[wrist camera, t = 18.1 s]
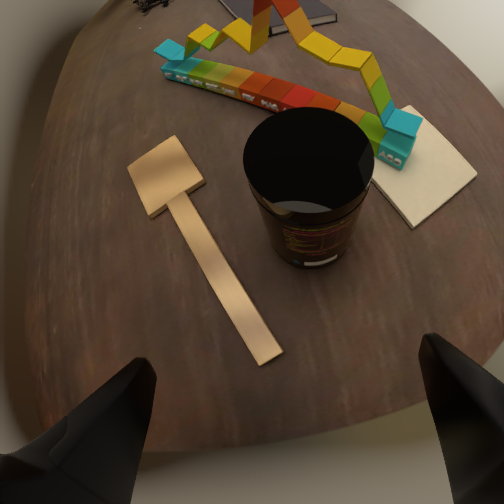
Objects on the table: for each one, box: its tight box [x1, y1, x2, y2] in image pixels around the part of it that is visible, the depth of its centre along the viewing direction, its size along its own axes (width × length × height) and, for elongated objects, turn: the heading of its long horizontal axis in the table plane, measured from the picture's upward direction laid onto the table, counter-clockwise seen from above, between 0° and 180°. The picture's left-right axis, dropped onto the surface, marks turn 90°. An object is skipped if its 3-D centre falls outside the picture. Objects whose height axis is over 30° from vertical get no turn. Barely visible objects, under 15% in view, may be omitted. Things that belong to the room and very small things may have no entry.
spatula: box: [127, 135, 284, 366], centre depth 26 cm, size 23×6×1 cm, turn 31°
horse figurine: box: [133, 0, 169, 29], centre depth 43 cm, size 9×4×15 cm
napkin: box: [371, 105, 477, 229], centre depth 25 cm, size 10×10×1 cm
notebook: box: [219, 0, 337, 37], centre depth 37 cm, size 13×2×21 cm
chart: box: [154, 0, 423, 170], centre depth 22 cm, size 30×3×15 cm, turn 54°
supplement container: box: [243, 107, 375, 268], centre depth 20 cm, size 7×7×10 cm
